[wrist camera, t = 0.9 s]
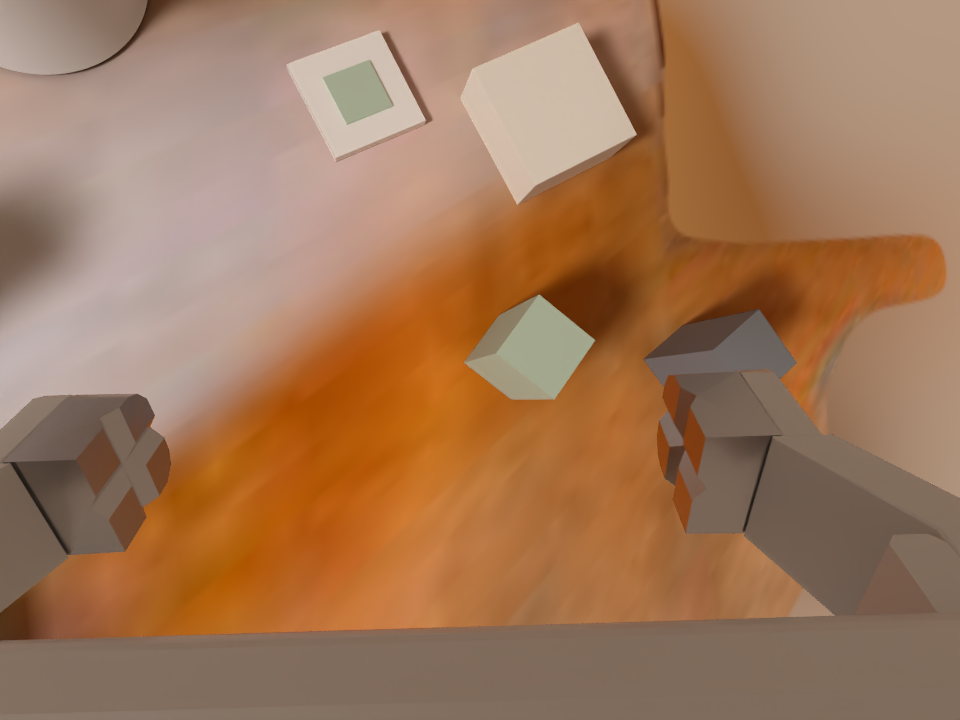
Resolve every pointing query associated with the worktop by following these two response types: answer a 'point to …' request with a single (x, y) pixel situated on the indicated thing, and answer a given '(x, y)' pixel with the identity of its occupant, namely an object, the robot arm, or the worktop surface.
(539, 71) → the cream base block
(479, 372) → the sage block
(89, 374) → the worktop surface
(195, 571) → the worktop surface
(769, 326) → the charcoal block
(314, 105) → the tile
